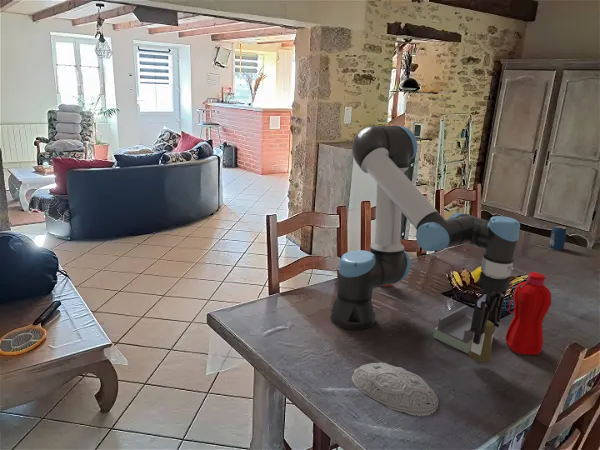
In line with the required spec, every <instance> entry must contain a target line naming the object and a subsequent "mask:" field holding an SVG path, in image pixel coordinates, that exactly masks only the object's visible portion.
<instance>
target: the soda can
mask: <svg viewBox="0 0 600 450" xmlns="http://www.w3.org/2000/svg"><path fill="white" fill-rule="evenodd" d="M567 233H568V230H567V227H566V226H563V225H556V224H555V225H554V226H553V227H552V229H551V234H550V238H549V243H548V246H549V249H551V250H553V251H554V250H555V251H562V250H563V249H564V247H565V243H566V239H567Z"/></svg>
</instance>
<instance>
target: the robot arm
mask: <svg viewBox="0 0 600 450" xmlns="http://www.w3.org/2000/svg"><path fill="white" fill-rule="evenodd" d="M351 146H352V147H351V148H352V149H351V152H352V155H353V160H354V161H355V163H356V164H357V166H358V167H359V169H361V171H362V172H363V173H365V174H369V175H370V176H371V178H373V180H374V181H375V182H376V199H375V202H376V203H375V228H374V229H375V230H374V241H373V242H372V243H371V244H370V247H369V251H368V250H365V249H364V250H363V249H362V250H361V249H359V250H358V249H355V250H351V251H348V252H345V253H344V254H342V255H341V257H340V259H339V265H338V269H337V270H338V271H337V272H338V273H337V274H338V276H337V277H338V278H337V291H336V299H335V301H334V303H333V305H332V308H331V310H330V320H331V322H332V323H333V324H335V326H338V327H340V328H343V329H347V330H353V331H354V330H355V331H357V330H358V331H360V330H361V331H362V330H365V329H369V328H371V327H372V326H373V325H375V322H376V313H375V311H374V307H373V299H372V296H373V289H376V288H380V287H381V286H385V285H388V284H391V285H393V284H396V283H398V282H401V281H403V280H405V279H406V278H407V276H408V275H409V273H410V269H411V259H410V257H408V256H409V254H408V253H407V252H406V251H405V246H404V245H403V244H402V243H401V231H402V230H401V229H402V214H403V215H404V217H405V218H406V219H407V220H408V221H409V222H410V224H411V225H412V226H413V228H415V230H416V233H415V238H416V241H417V244H418V246H419V247H420V248H421V249H422V250H423V251H426V252H436V251H437V252H438V251H439V252H440V251H443V250H445V249H449V248H453V247H459V246H463V245H468V244H470V245H472V246H476V247H479V248H481V249H482V248H483V250H484V251H483V256H482V261H481V266H480V270H481V271H480V273H479V278H478V285H479V286H480V287H481V288H482V292H481V293H480V298H475V300H474V307H473V312H472V313H473V314H472V317H471V318H472V323H471V329H470V331H472V332H474V335H473V341H472V346H471V351H472V352H474V353H476V354H478V355H480V354H481V351H482V346H483V341H484V336H485V333H483V332H484V329H485V326H486V323H487V320H489V321H491V322H492V323H493V324H494V325H495V328H499V326H500V324H499V323H500V322H501V317H502V313H503V306H504V301H505V297H506V294H507V291H508V289H509V286H510V282H511V277H510V276H512V275H511V274H512V271H514V269H515V268H514V267H513V264H514V260H515V256H516V255H515V254H516V251H517V247H518V241H519V239H520V229H521V223H520V222H519V221H518V220H517V219H516V218H513V217H508V216H504V215H502V216H501V215H494V216H492V217H491V218H490V219H489V220H486V219H484V218H480V217H477V216H473V215H471V214H468V213H462V212H454V213H453V214H452V215H450V216H449V217H448V219H445V218H444V216H443V215H442V214H441V213H439V211H438V210H437V209H436V208H435V207H434V205H432V203H431V202H430V201H429V200H428V199H427V198H426V197H425V196H424V194H423V193H422V192H421V190H419V189H418V188H417V186H416V185H414V183H413V182H412V181H411V180H410V179H409V177H408V176H407V175H406V174H405V172H406V171H407V170H408V169H409V167H410V161H411V160H412V159H414V156H415V155H416V154H417V152H418V141H417V138H416V136H415V134H414V132H413V131H412V130H411V129H410V128H409V127H406V126H401V125H371V126H366V127H364V128H362V129H360V131H358V132H357V134H356V135H355V136H354V137H353V141H352V145H351ZM494 334H495V332H494V333H493V334H492V341H493V340H494V339H493V338H494ZM492 344H493V342H492V343H491V346H492Z"/></svg>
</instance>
